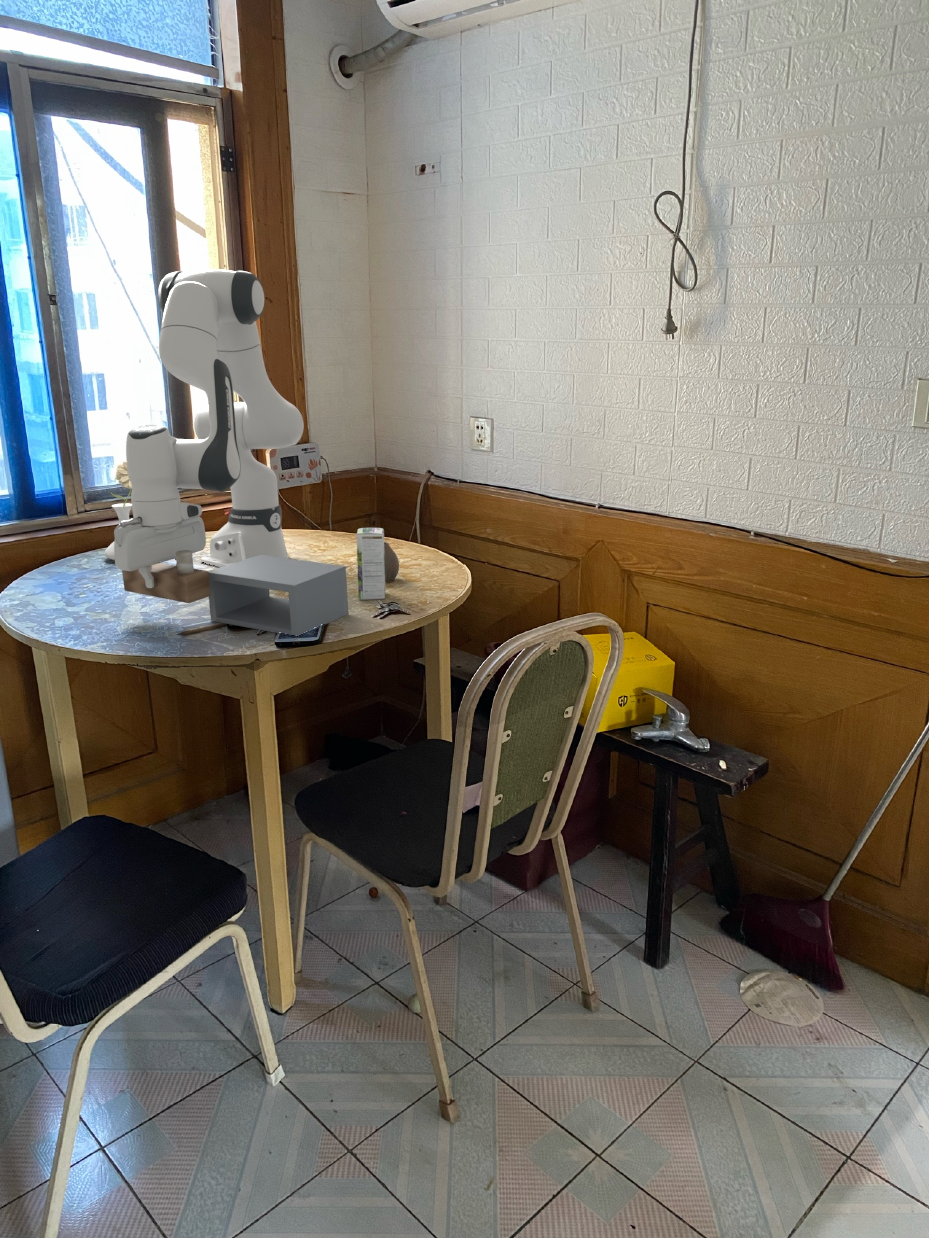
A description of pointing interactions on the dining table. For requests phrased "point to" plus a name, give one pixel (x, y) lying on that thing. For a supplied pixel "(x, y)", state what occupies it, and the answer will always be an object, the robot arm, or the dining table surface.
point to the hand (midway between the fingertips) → (165, 582)
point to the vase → (390, 563)
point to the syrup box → (371, 563)
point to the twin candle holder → (172, 580)
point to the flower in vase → (125, 507)
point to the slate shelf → (247, 584)
